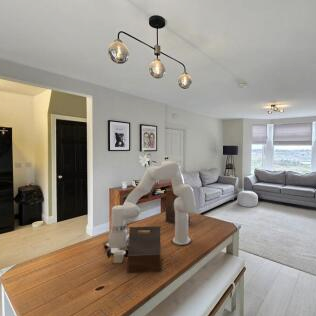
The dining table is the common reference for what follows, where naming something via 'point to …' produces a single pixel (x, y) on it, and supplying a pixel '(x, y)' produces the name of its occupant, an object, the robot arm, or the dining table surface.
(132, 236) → the lid
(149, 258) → the chest
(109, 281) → the dining table surface
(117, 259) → the block
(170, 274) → the dining table surface
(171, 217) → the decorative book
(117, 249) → the plated food
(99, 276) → the dining table surface
